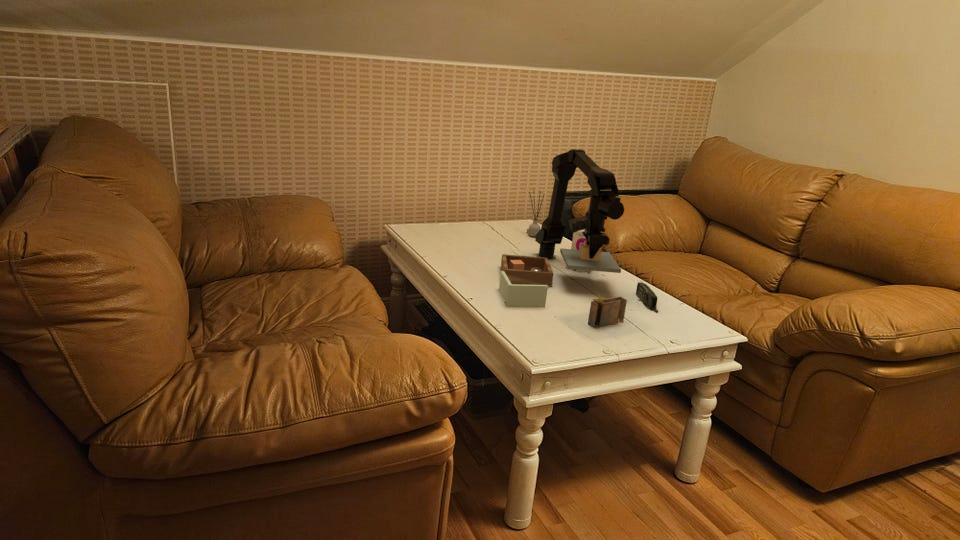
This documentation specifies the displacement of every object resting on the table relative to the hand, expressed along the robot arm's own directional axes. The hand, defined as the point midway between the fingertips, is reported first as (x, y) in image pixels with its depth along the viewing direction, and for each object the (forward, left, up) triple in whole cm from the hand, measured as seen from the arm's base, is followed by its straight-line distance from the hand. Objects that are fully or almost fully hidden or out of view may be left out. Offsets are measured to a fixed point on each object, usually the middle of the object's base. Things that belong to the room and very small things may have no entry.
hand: (590, 256), depth 198 cm
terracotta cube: (-7, -23, -10) cm, 26 cm away
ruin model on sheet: (+28, +1, -12) cm, 30 cm away
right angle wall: (+14, -23, -12) cm, 29 cm away
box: (-4, -20, -11) cm, 23 cm away
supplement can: (-17, +1, -11) cm, 20 cm away
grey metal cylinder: (-1, -17, -10) cm, 20 cm away
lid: (0, 0, -2) cm, 2 cm away
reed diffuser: (-56, -13, -11) cm, 58 cm away
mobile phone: (+10, +18, -11) cm, 24 cm away
